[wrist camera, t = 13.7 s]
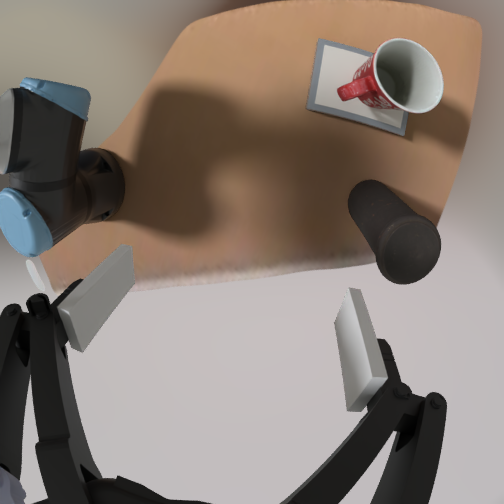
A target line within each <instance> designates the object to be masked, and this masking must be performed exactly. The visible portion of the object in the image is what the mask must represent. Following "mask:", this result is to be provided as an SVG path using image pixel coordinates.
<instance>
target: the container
mask: <svg viewBox="0 0 504 504" xmlns="http://www.w3.org/2000/svg"><path fill="white" fill-rule="evenodd" d="M348 208H349V212H350V215H351V217H352V218H353V220H354V221H355V223H356V224H357V226H358V227H359V229H360V231H361V232H362V234H363V235H364V237H365V238H366V240H367V242H368V243H369V245H370V247H371V248H372V250H373V252H374V254H375V256H376V262H377V265H378V268H379V270H380V272H381V273H382V275H383V276H384V277H385V278H386V279H388V280H389V281H391V282H393V283H396V284H410V283H414V282H417V281H418V280H420V279H422V278H424V277H425V276H426V275H427V274H428V273H429V272H430V271H431V270H432V269H433V268H434V266H435V265H436V263H437V261H438V258H439V255H440V251H441V239H440V235H439V233H438V230H437V229H436V227H435V226H434V224H433V223H432V222H431V221H429V220H428V219H427V218H425V217H423V216H420V215H418V214H417V213H416V212H414V211H413V210H412V209H411V208H410V207H409V206H408V205H407V204H406V203H405V202H403V201H402V200H401V199H400V198H399V197H398V196H397V195H395V194H394V193H393V192H392V191H391V190H390V189H388V188H387V187H386V186H385V185H383V184H382V183H380V182H379V181H376V180H365V181H362V182H360V183H358V184H357V185H356V186H355V187H354V188H353V189H352V191H351V193H350V195H349V199H348Z"/></svg>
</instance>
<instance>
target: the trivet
mask: <svg viewBox="0 0 504 504" xmlns="http://www.w3.org/2000/svg"><path fill="white" fill-rule="evenodd" d="M373 54H374V53H371V52H368V51H365V50H362V49H358V48H355V47H352V46H348V45H344V44H341V43H337V42H333V41H329V40H324V39H320V38H319V39H318V41H317V44H316V50H315V57H314V63H313V69H312V75H311V81H310V86H309V92H308V98H307V103H306V109H307V110H311V111H316V112H320V113H325V114H329V115H333V116H337V117H341V118H345V119H348V120H352V121H355V122H359V123H362V124H366V125H369V126H372V127H376V128H379V129H382V130H385V131H388V132H391V133H394V134H397V135H401V136H404V134H405V129H406V124H407V119H408V113H409V112H407V111H403V110H392V109H377V108H372V107H369V106H367V105H365V104H364V103H362V102H361V101H360V100H359V99H358V97H357V98H354V99H351V100H348V101H342V100H341V99H340V97H339V95H338V93H337V88H339V87H341V86H343V85H345V84H348V83H350V82H352V80H353V76H354V74H355V72H356V71H357V69H358V68H359V67H360V66H362V65H363V64H364V63H365V62H366V61H367V60H368V59H369V58H370V57H371V56H372V55H373Z"/></svg>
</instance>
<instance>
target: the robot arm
mask: <svg viewBox="0 0 504 504" xmlns="http://www.w3.org/2000/svg"><path fill="white" fill-rule="evenodd" d="M90 101H91V96H90V93H89V92H88V91H87V90H86V89H84V88H81V87H76V86H72V85H67V84H63V83H58V82H53V81H47V80H41V79H33V78H27V77H26V78H24V79H23V80H22V82H21V84H20V88H10V89H8V90H7V91H6V92H5V93H4V94H3V95H2V96H1V97H0V174H6V173H9V187H7V188H4V189H3V190H2V192H0V227H1V229H2V232H3V234H4V235H5V237H6V239H7V240H8V242H9V243H10V244H11V246H12V247H13V248H14V249H15V250H16V251H18V252H19V253H20V254H22V255H24V256H27V257H36V256H38V255H40V254H41V253H43V252H44V251H46V250H49V249H51V248H52V247H53V246H54V245H55V244H57V243H58V242H59V241H61V240H62V239H63V238H65V237H66V236H67V235H69V234H70V233H71V232H73V231H74V230H76V229H77V228H78V227H80V226H81V225H83V224H89V223H97V222H101V221H104V220H106V219H108V218H109V217H111V216H112V215H113V214H115V213H116V212H117V210H118V209H119V208H120V206H121V204H122V201H123V198H124V192H125V184H124V177H123V173H122V170H121V168H120V166H119V164H118V162H117V161H116V160H115V158H114V157H113V156H112V155H111V154H110V153H108V152H107V151H105V150H103V149H99V148H89V149H85V150H83V151H80V150H81V145H82V139H83V135H84V130H85V125H86V121H88V117H87V115H88V110H89V105H90ZM134 284H135V278H134V266H133V251H132V246H129V245H124V244H121V245H120V246H119V247H118V248H117V249H116V250H115V251H114V252H112V253H111V254H110V255H109V256H108V257H107V258H106V259H105V260H104V261H103V262H102V263H101V264H100V265H98V266H97V267H96V268H95V269H94V270H93V271H92V272H91V273H90V274H89V275H88V276H87V277H86V278H85V279H79V280H77V281H75V282H73V283H72V284H71V285H70V286H69V287H68V288H67V289H66V290H65V291H64V292H63V293H62V294H61V295H60V296H59V297H58V298H57V299H56V300H55V301H54V302H53V303H52V304H51V305H50V301H49V298H48V296H47V295H46V294H43V293H38V294H34V295H32V296H31V297H30V298H29V299H28V300H27V302H26V305H27V308H28V311H29V313H27V312H23V311H22V309H21V306H20V305H19V304H10V305H8V306H6V307H5V308H4V309H3V311H2V313H1V315H0V504H25V503H24V499H25V497H26V493H25V491H24V489H23V488H22V485H21V483H20V482H19V480H20V475H21V464H22V439H23V425H24V415H25V406H26V399H27V392H28V386H29V380H30V375H31V385H32V396H33V405H34V413H35V419H36V426H37V432H38V437H39V442H38V443H36V445H35V449H36V455H37V460H38V464H39V468H40V472H41V476H42V479H43V483H44V486H45V489H46V492H47V495H48V498H47V499H45V500H42V501H39V502H36V503H33V504H211V503H206V502H201V501H188V500H170V499H166V498H164V497H162V496H161V495H159V494H157V493H155V492H154V491H152V490H150V489H148V488H147V487H145V486H143V485H141V484H139V483H136V482H133V481H131V480H128V479H126V478H123V477H121V476H117V478H116V479H114V478H102V476H101V473H100V471H99V470H98V468H97V466H96V464H95V463H94V461H93V458H92V455H91V452H90V449H89V446H88V443H87V440H86V437H85V433H84V430H83V426H82V423H81V419H80V416H79V412H78V407H77V403H76V399H75V394H74V390H73V385H72V380H71V374H70V368H69V362H68V355H67V349H66V346H65V344H66V343H67V341H68V340H69V342H70V345H71V348H73V349H75V350H77V351H80V352H84V350H85V349H86V347H87V346H88V345H89V343H90V342H91V340H92V339H93V338H94V336H95V335H96V333H97V332H98V331H99V329H100V328H101V327H102V325H103V324H104V323H105V321H106V320H107V319H108V317H109V316H110V315H111V313H112V312H113V311H114V309H115V308H116V307H117V305H118V304H119V303H120V302H121V300H122V299H123V298H124V296H125V295H126V294H127V293H128V291H129V290H130V289H131V288H132V286H133V285H134ZM334 324H335V330H336V336H337V342H338V348H339V355H340V361H341V368H342V375H343V382H344V390H345V398H346V407H347V411H353V412H361V411H362V410H363V409H364V408H365V407H366V405H367V410H368V413H367V414H366V415H365V416H364V417H363V418H362V419H361V420H360V421H359V423H358V425H357V426H356V427H355V428H354V430H353V431H352V432H351V433H350V435H349V436H348V437H347V438H346V439H345V440H344V441H343V443H342V444H341V445H340V446H339V447H338V448H337V449H336V450H335V451H334V453H333V454H332V455H331V456H330V457H329V458H328V459H327V460H326V461H325V462H324V463H323V464H322V465H321V466H320V467H319V468H318V470H317V471H315V472H314V473H313V474H312V475H311V476H310V477H309V478H308V479H307V480H306V481H305V482H304V483H303V484H302V485H301V486H300V487H299V488H298V489H297V490H295V491H294V492H293V493H292V494H291V495H290V496H288V498H286V499H285V500H284V501H283V502H281V503H280V504H338V503H339V502H340V501H341V500H342V499H343V498H344V497H345V496H346V494H347V493H348V492H349V491H350V490H351V489H352V487H353V486H354V485H355V484H356V482H357V481H358V480H359V479H360V477H361V476H362V475H363V474H364V472H365V471H366V470H367V468H368V467H369V466H370V464H371V463H372V462H373V460H374V459H375V457H376V456H377V455H378V453H379V452H380V450H381V449H382V447H383V446H384V445H385V443H386V441H387V440H388V438H389V437H390V435H391V434H392V432H393V431H397V434H396V436H395V440H394V443H393V446H392V449H391V452H390V455H389V458H388V461H387V464H386V467H385V469H384V472H383V475H382V477H381V480H380V482H379V485H378V487H377V489H376V492H375V494H374V496H373V499H372V501H371V503H370V504H428V503H429V500H430V496H431V493H432V489H433V485H434V481H435V477H436V473H437V469H438V464H439V459H440V454H441V448H442V442H443V436H444V428H445V421H446V412H447V402H446V400H445V398H444V397H443V396H442V395H441V394H439V393H436V392H432V393H429V394H428V395H427V396H426V397H421V396H418V395H415V394H412V391H411V389H410V387H409V386H407V385H406V384H405V383H402V382H401V379H400V375H399V372H398V369H397V366H396V362H395V361H394V360H395V359H394V357H393V355H392V354H393V353H392V350H391V347H390V345H389V344H388V343H387V342H386V340H385V339H377V338H376V335H375V332H374V329H373V326H372V322H371V319H370V316H369V314H368V310H367V307H366V304H365V302H364V299H363V296H362V293H361V290H360V289H354V288H348V290H347V293H346V296H345V298H344V301H343V303H342V305H341V308H340V310H339V313H338V315H337V317H336V320H335V322H334Z"/></svg>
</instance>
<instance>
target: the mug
mask: <svg viewBox="0 0 504 504" xmlns="http://www.w3.org/2000/svg"><path fill="white" fill-rule="evenodd" d="M443 88H444V83H443V76H442V72H441V70H440V67H439V65H438V63H437V62H436V60H435V59H434V57H433V56H432V55H431V54H430V52H429V51H428V50H426V49H425V48H424V47H423V46H421V45H420V44H418V43H416V42H414V41H412V40H409V39H405V38H392V39H389V40H386V41H384V42H383V43H382V44H380V45H379V47H378V48H377V49H376V51H375V53H374V54H373V55H372V56H371V57H370V58H369V59H368V60H367V61H366V62H365V63H364V64H363V65H362V66H360V67H359V68H358V69H357V71H356V72H355V74H354V76H353V80H352V82H350V83H348V84H345V85H343V86H341V87H339V88H337V93H338V95H339V97H340V99H341V100H342V101H348V100H351V99H354V98H357V97H358V99H359V100H360V101H361V102H362V103H364V104H365V105H367V106H369V107H372V108H377V109H392V110H403V111H407V112H410V113H417V114H419V113H425V112H428V111H430V110H432V109H433V108H435V107H436V106H437V105H438V103H439V102H440V100H441V98H442V95H443Z"/></svg>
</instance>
